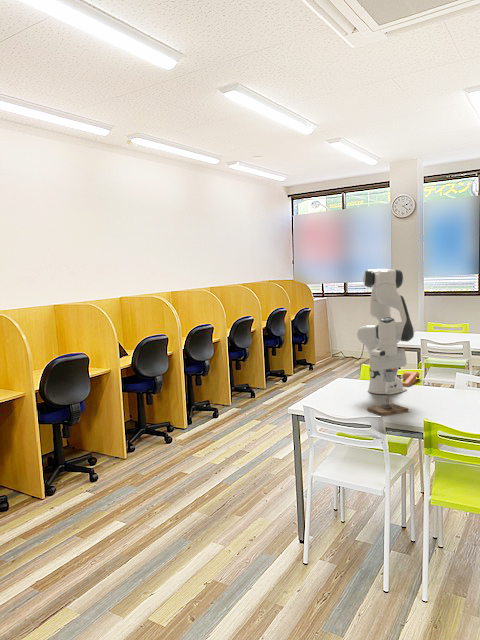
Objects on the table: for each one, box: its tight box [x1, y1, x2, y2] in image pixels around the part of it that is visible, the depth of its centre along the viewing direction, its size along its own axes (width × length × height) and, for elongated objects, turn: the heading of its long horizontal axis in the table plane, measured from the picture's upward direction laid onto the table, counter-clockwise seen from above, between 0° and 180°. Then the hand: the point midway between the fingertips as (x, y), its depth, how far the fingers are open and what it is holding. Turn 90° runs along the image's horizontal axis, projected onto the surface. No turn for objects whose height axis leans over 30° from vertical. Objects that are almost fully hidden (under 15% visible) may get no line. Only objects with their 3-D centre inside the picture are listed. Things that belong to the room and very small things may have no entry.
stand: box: [366, 395, 409, 417], centre depth 247 cm, size 16×12×8 cm
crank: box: [402, 370, 421, 387], centre depth 301 cm, size 20×8×8 cm, turn 140°
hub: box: [383, 370, 395, 382], centre depth 244 cm, size 6×6×5 cm
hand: (388, 377), depth 244 cm, fingers closed on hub, 6 cm apart
